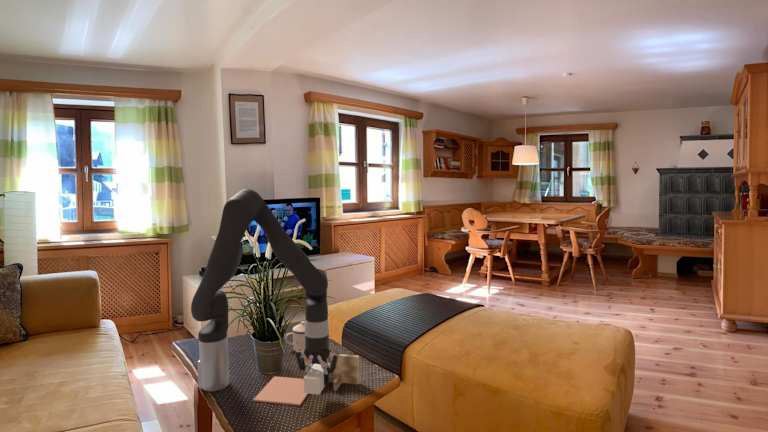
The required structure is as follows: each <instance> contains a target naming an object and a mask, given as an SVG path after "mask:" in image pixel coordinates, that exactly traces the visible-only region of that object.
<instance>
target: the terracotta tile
mask: <svg viewBox="0 0 768 432" xmlns="http://www.w3.org/2000/svg"><path fill="white" fill-rule="evenodd" d="M308 396H309V394H308V393H304V378H296V377H285V376H276V375H275V376H273V377H272V378H271V379H270V380H269V381H268V383H267V384H266V385H265V386H264V387H263V388H262V389H261V390H260V392H259V393H257V395H256V396H255V397H254V398H253V399H252V400H253V402H258V403H259V402H260V403H265V404H266V403H267V404H268V403H269V404H278V405H286V406H287V405H288V406H295V407H301V406H302V404H303V403H304V401H305V400H306V398H307V397H308Z"/></svg>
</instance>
